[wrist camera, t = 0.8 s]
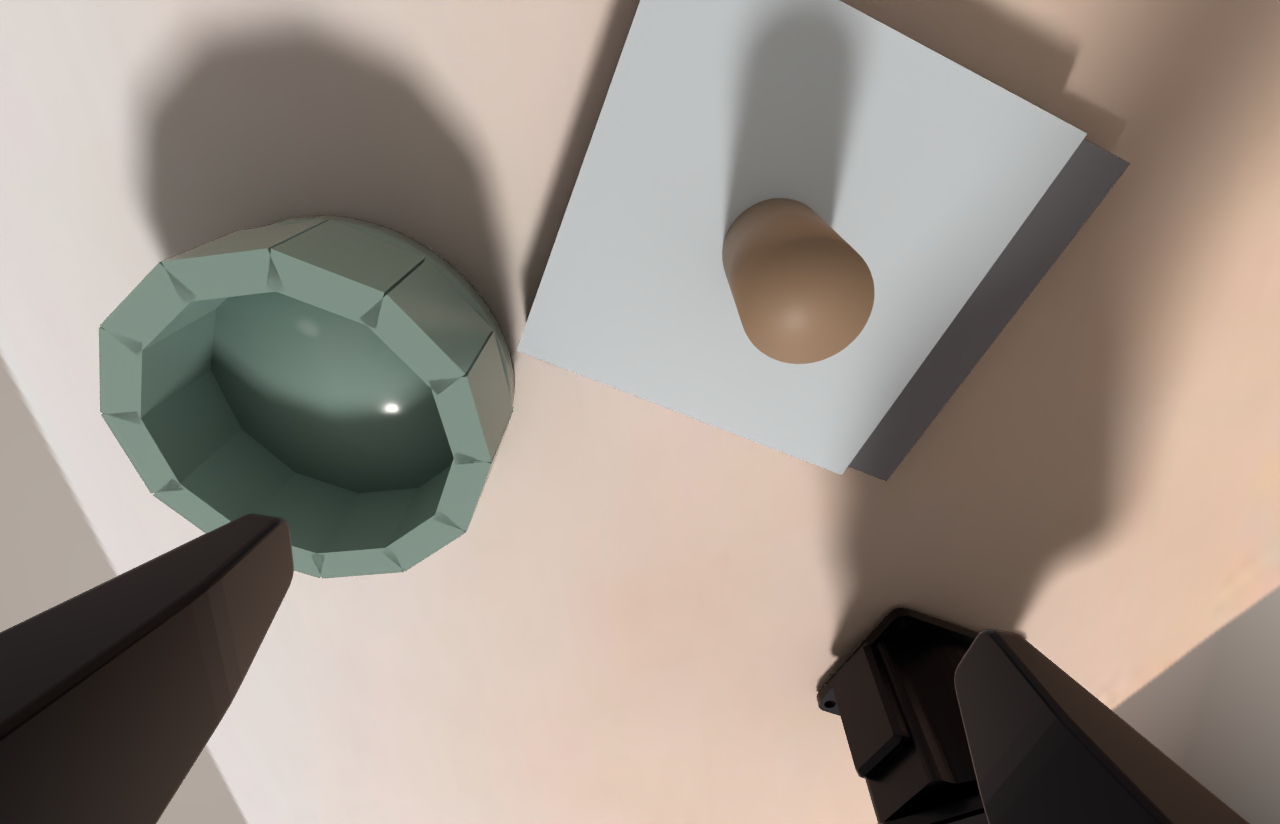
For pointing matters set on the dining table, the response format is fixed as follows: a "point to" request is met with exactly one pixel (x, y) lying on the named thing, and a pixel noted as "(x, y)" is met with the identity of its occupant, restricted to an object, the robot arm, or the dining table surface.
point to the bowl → (312, 390)
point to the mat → (992, 304)
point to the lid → (784, 218)
